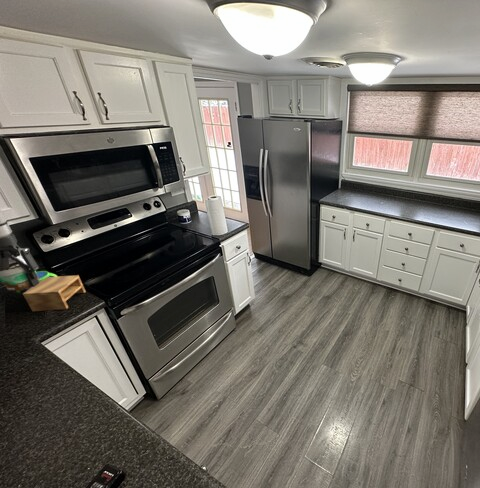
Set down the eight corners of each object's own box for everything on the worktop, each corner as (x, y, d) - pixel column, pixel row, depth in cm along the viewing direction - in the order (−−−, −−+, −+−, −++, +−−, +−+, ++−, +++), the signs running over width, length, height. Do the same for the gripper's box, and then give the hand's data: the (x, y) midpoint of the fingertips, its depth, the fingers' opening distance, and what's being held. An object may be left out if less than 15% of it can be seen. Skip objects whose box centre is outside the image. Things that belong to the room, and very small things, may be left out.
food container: (14, 295, 105) (1, 274, 101) (4, 292, 106) (-9, 271, 102) (50, 279, 116) (40, 259, 111) (41, 277, 117) (30, 257, 113)
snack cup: (17, 303, 127) (6, 285, 123) (25, 291, 135) (16, 275, 131) (60, 294, 134) (51, 277, 130) (65, 284, 142) (58, 267, 138)
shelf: (32, 311, 122) (22, 293, 118) (54, 293, 135) (46, 277, 130) (66, 308, 124) (58, 291, 120) (85, 291, 137) (78, 275, 133)
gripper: (35, 231, 106) (58, 279, 116) (-22, 232, 103) (7, 281, 113) (19, 239, 99) (45, 289, 109) (-43, 240, 96) (-10, 292, 106)
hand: (25, 285), depth 111 cm, fingers closed on food container, 7 cm apart
